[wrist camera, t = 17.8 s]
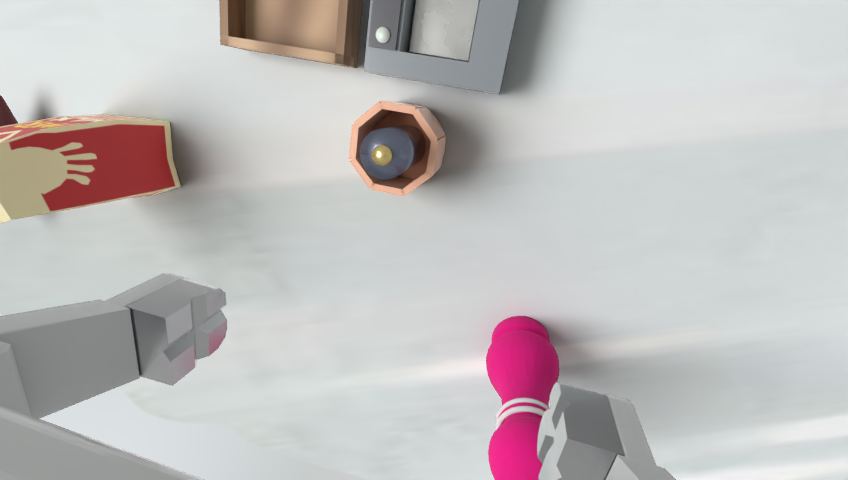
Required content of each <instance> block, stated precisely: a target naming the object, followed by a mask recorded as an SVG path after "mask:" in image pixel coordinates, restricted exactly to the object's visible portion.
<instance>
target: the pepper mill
mask: <svg viewBox="0 0 848 480" xmlns="http://www.w3.org/2000/svg"><path fill="white" fill-rule="evenodd" d="M486 364H487V372H488V376H489V378H490V381H491V383H492V385H493V387H494V388H495V390H496V391H497V393H498V394H499V396H500V397H501V399H502V406H501V407H500V409H499V410H498V412H497V415H496V431H495V432H494V434H493V436H492V438H491V440H490V445H489V452H488V454H489V463H490V468H491V471H492V474H493V476H494V479H495V480H539V473H540V471H541V468H542V465H543V464H542V463H541V461H540V460H539V459H538V454H537V442H538V433H539V428H540V423H541V420H542V417H543V413H544V412H545V411H546V410H548V409H550V408H549V405H548V403H549V399H550V394H551V391H552V388H553V386H554V385H555V383H556V382H557V380H558V376H559V360H558V356H557V353H556V351H555V349H554V348H553V346H552V345H551V344H550V341H549V336H548V333H547V331H546V330H545V328H544V327H543V326H542V325H541V324H540V323H539V322H537V321H535V320H533V319H531V318H528V317H523V316H517V317H511V318H508V319H505V320H503V321H502V322H501V323H499V324H498V325H497V327H496V328H495V330H494V332H493V335H492V344H491V346H490V348H489V349H488V353H487V357H486Z"/></svg>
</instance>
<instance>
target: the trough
mask: <svg viewBox="0 0 848 480" xmlns="http://www.w3.org/2000/svg"><path fill="white" fill-rule="evenodd" d="M219 1H220V42H221V45H225V46H230V47H235V48H239V49H244V50H250V51H256V52H262V53H268V54H274V55H280V56H286V57H293V58H299V59H305V60H311V61H317V62H323V63H329V64H335V65H341V66H347V67H353V68H356V66H357V55H358V43H359V32H360V21H361V10H362V0H219Z"/></svg>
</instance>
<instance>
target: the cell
mask: <svg viewBox="0 0 848 480" xmlns="http://www.w3.org/2000/svg"><path fill="white" fill-rule="evenodd" d="M425 152H426V140H425V137H424V135H423V134H422V132H421V131H420V130H419V129H418V128H416V127H414V126H412V125H400V126H394V127H388V128H383V129H377V130H374V131H372V132H370V133H369V134H368V135H367V136H366V137H365V138H364V140H363V141H362V144H361V147H360V159H361V162H362V165H363V166H364V168H365V169H366V171H367V172H368V173H369V174H371V175H372V176H374V177H376V178H378V179H383V180H388V179H392V178H395V177H397V176H398V175H400V174H401V173H403V172H404V171H406V170H407V169H409V168H410V167H412V166H414V165H415V164H417V163H418V162H419V161H420V160H421V159H422V158H423V157H424V155H425Z"/></svg>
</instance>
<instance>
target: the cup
mask: <svg viewBox="0 0 848 480" xmlns="http://www.w3.org/2000/svg"><path fill="white" fill-rule="evenodd" d="M353 124H354V125H352V132H351V143H350V154H349V159H351V160H350V162H351V164H352V165H353V166H354V168H355V169H356V171H357V172H358V173H359V175H360V176H361V177H362V179H363V180H364V182H365V183H366V184H367V186H368V187H369V188H371V190H375V191H380V192H385V193H390V194H395V195H400V196H403V195H406V194H408V193H409V192H411V191H412V190H414V189H415V188H416V187H418V186H419V185H421V184H422V183H424V182H425V181H427V180H428V179H429V178H431V177H432V176H433V175H434V174H435V173H436V172H437V171H438V170H439V169H440V167H441V163H442V159H443V157H444V153H445V140H446V136H445V135H446V134H445V133H444V131H443V129H442V127H441V125H440V123H439V121H438V120H437V118H436V117H435V116H434V115H433V114H432V113H431V112H430V110H429V109H428V108H426V107H424V106H419V105H416V104H410V103H401V102H392V101H381V102H378V103H377V104H376V105H374V106H373V107H372V108H371V109H370V110H368V111H367V112H366V113H365V114H363V115H362V116H361V117H360V118H359V119H357V120H356V121H355V122H354V123H353ZM400 125H412V126H414V127H416V128H418V129H419V130H420V131H421V132H422V134H423V135H424V137H425V140H426V152H425V155H424V157H423V158H422V159H421V160H420V161H419V162H418V163H417V164H415V165H414V166H412V167H410V168H409V169H407V170H406V171H404V172H403V173H401V174H400V175H398V176H397V177H395V178H392V179H388V180H383V179H378V178H376V177H374V176H372V175H371V174H369V173H368V172H367V171H366V169H365V168H364V166H363V165H362V162H361V159H360V147H361V144H362V141H363V140H364V138H365V137H366V136H367V135H368V134H369V133H370V132H372V131H374V130H377V129H383V128H388V127H394V126H400Z"/></svg>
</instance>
